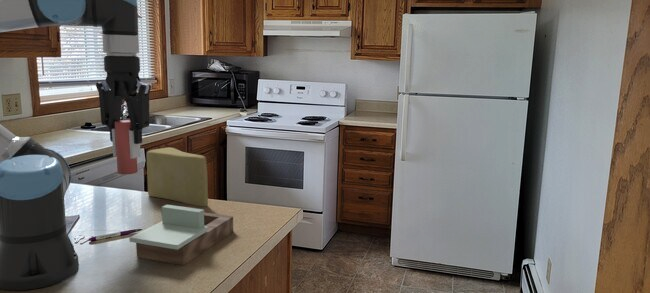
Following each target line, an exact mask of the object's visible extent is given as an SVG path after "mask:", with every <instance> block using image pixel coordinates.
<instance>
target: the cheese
mask: <svg viewBox="0 0 650 293" xmlns="http://www.w3.org/2000/svg"><path fill="white" fill-rule="evenodd" d="M146 171H147V172H146V174H147V176H146V177H147V193H148V194H147V196H149V197H153V198H158V199H165V200H169V201H175V202H179V203H183V204H188V205H192V206H197V207H201V208H204V207H208V206H209V205H208V204H209V194H208V168H207V157H206V156H204V155H202V154H194V153H189V152H185V151H181V150H180V149H177V148H175V147H162V148H161V147H160V148H156V149H150V150H148V151H147V152H146Z"/></svg>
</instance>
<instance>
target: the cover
mask: <svg viewBox="0 0 650 293" xmlns="http://www.w3.org/2000/svg"><path fill="white" fill-rule="evenodd" d="M204 212H205V209H204V208H203V209H202V208H195V207H188V206H181V205H173V204H165V205H163V206H161V221H159V222H158V223H156V224H153V225H152V226H149V227H148V228H146V229H144V230H142V231H140V232H137V233H136V234H134V235H132V236H130V237H129V242H130V243H135V244H136V243H140V244H146V245H152V246H158V247H164V248H170V249H176V250H178V249H179V248H181V247H183V246H184V245H186V244H188V243H189V242H191V241H192V240H194V239H196V238H197V237H199V236H201V235H202V234H204V233H205V232H207V231H208V227H207V226H204Z"/></svg>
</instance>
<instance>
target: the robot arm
mask: <svg viewBox="0 0 650 293" xmlns="http://www.w3.org/2000/svg"><path fill="white" fill-rule="evenodd" d="M138 11H139V10H138V0H0V33H4V32H5V33H6V32H11V31H13V32H14V31H19V30H26V29H33V28H44V27H52V26H56V27H61V26H65V27H94V28H98V27H99V28H101V30H102V52H103V53H104V54H105V55H104V57H103V68H104V71H105V73H106V77H105V79H104V81H101V82H99V81H98V82H96V84H95V87H96V89H97V91H98V99H99V110H100V122H101V125H102V126H107V127H108V128H109V140H110V142H111V143H112V156H113V157H114V158H115V157H116V158H117V156H116V139H115V121H121V114H122V107H123V100H124V102H125V105H126V109H127V112H128V118H129V120H130V122H131V127H132V128H130V130H129V144H130V158H132V159H133V158H137V159H138V158H141V154H142V153H141V144H142V143H143V129H145V128H148V127H149V126H150V94H151V91H152V90H151V89H152V85H151V84H146V83H145V82H142V81H141V77H140V76H139V74H140V72H141V60H140V57H139V55H138V56H137V54H139V53H140V40H139V18H138V17H139V12H138ZM71 171H72V170H71V168H70V166H69V163H68V161H67V159H66V158H65V157H64V156H63V155H62V154H60V153H59V152H58V151H56V150H54V149H51V148H46V147H44V146H43V145H42V144H40V143H39V142H37V141H36V140H34V139H33V138H32V137H30V136H17V135H15V133H13V132H11V131H10V130H9V129H7V128H6V127H5V126H3V125H2V124H1V123H0V289H1V290H4V291H28V290H35V289H36V290H37V289H40V288H45V287H49V286H53V285H55V284H58V283H60V282H63V281H65V280H68V279H70V277H72V276H73V275H75V274H76V273H77V271H78V270H79V266H80V265H79V256H78V253H77V252H76V250H75V247H74V245H73V243H72V241H71V239H70V237H69V234H68V232H67V220H66V206H65V196H66V193H67V190H68V189H69V187H70V184H71V181H72V174H71V173H72V172H71Z"/></svg>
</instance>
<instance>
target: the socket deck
mask: <svg viewBox="0 0 650 293" xmlns="http://www.w3.org/2000/svg"><path fill="white" fill-rule="evenodd" d="M204 226H207V227H208V231H207V232H205V233H204V234H202V235H201V236H199V237H197V238H196V239H194V240H192V241H191V242H189V243H188V244H186V245H184V246H183V247H181V248H179V249H178V250H176V249H170V248H164V247H158V246H152V245H146V244H140V243H135V245H136V247H135V248H136V250H135V251H136V258H141V259H146V260H152V261H158V262H163V263H169V264H173V265H180V266H185V265H186V264H187V263H189V262H191V261H193V260H194V259H195V258H196V257H198V256H199V255H201V254H202V253H203V252H205V251H206V250H208V249H209V248H211V247H212V246H214V245H216V244H217V243H218V242H220V241H221V240H222V239H224V238H226V237H227V236H229V235H230V234H232V233H233V232H234V216H233V215H227V214H226V215H225V214H217V213H212V212H205V211H204Z"/></svg>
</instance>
